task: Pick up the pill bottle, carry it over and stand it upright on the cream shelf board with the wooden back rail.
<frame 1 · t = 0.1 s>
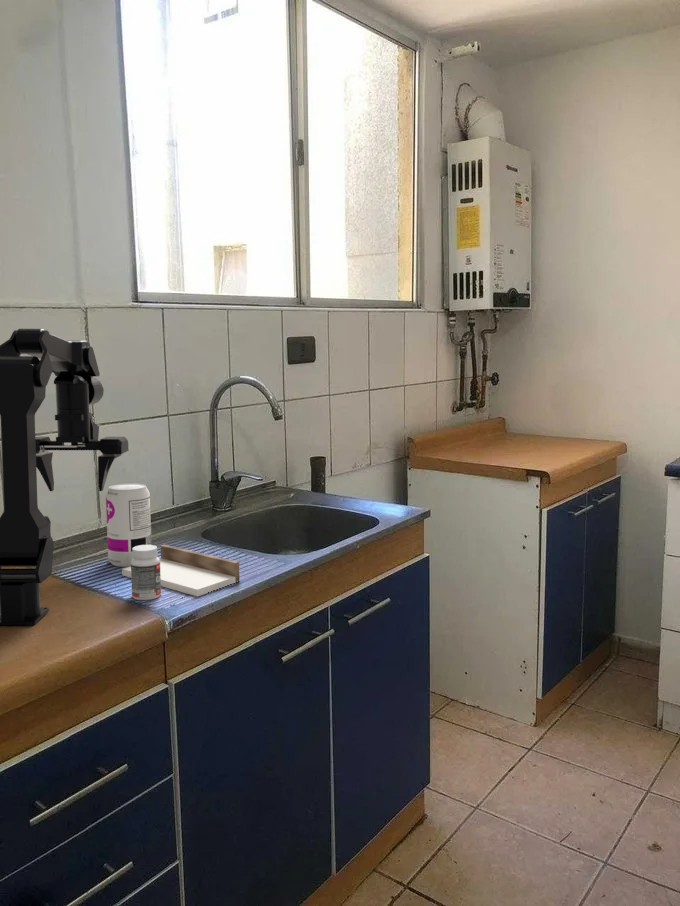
hand: (76, 490, 137), 15 cm above the countertop, fingers open, 9 cm apart
supplement can: (130, 563, 142), on the countertop
shelf board: (180, 578, 132), on the countertop
pill bottle: (146, 597, 122), on the countertop
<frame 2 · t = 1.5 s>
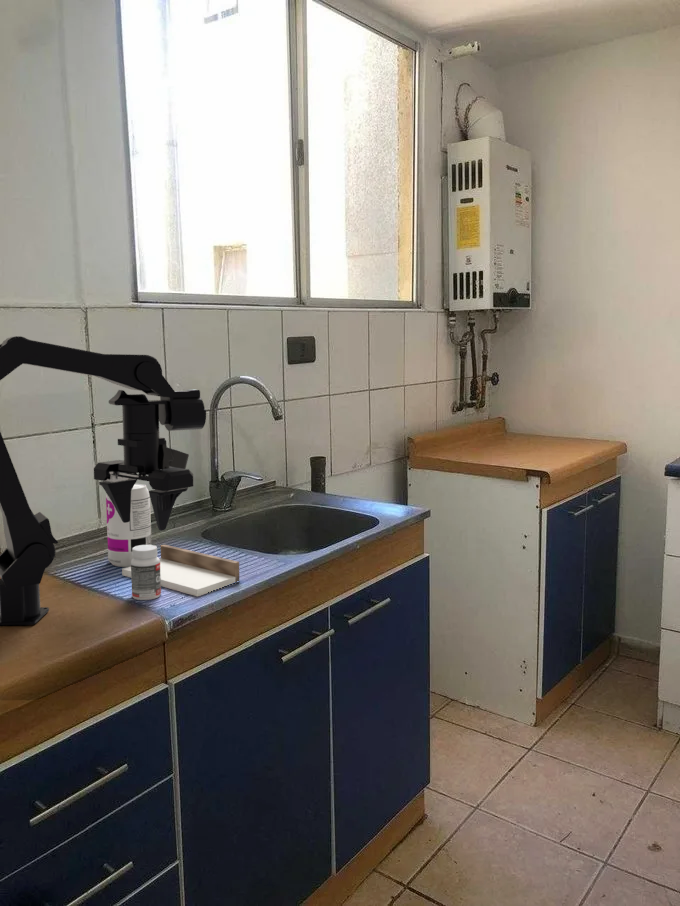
hand: (143, 526, 120), 12 cm above the countertop, fingers open, 9 cm apart
nothing on the countertop moved.
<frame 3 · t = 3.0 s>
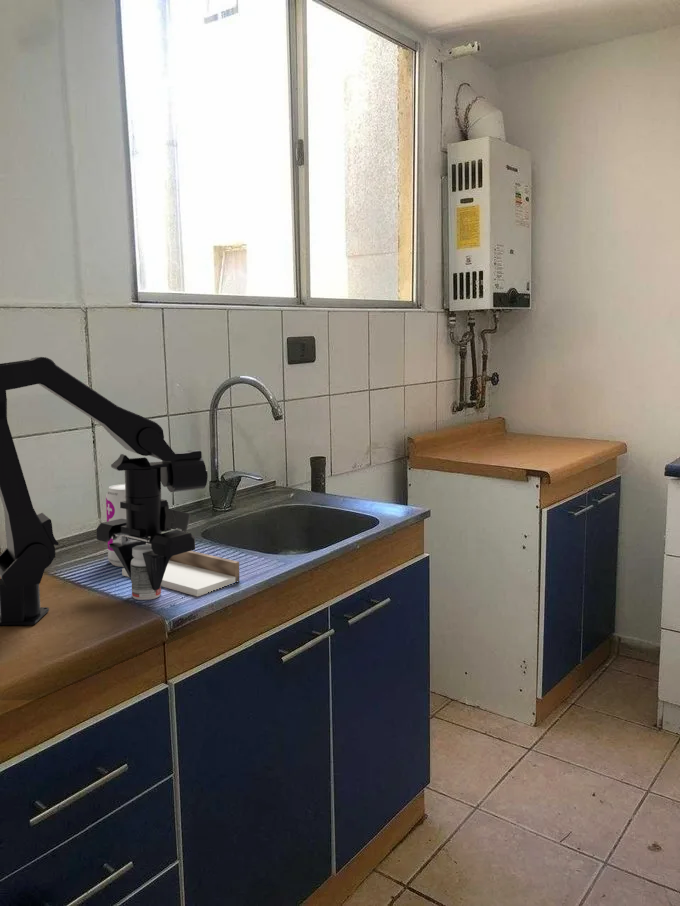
hand: (146, 586, 122), 2 cm above the countertop, fingers closed on pill bottle, 5 cm apart
pill bottle: (146, 597, 122), on the countertop, touching gripper
everything else where it was.
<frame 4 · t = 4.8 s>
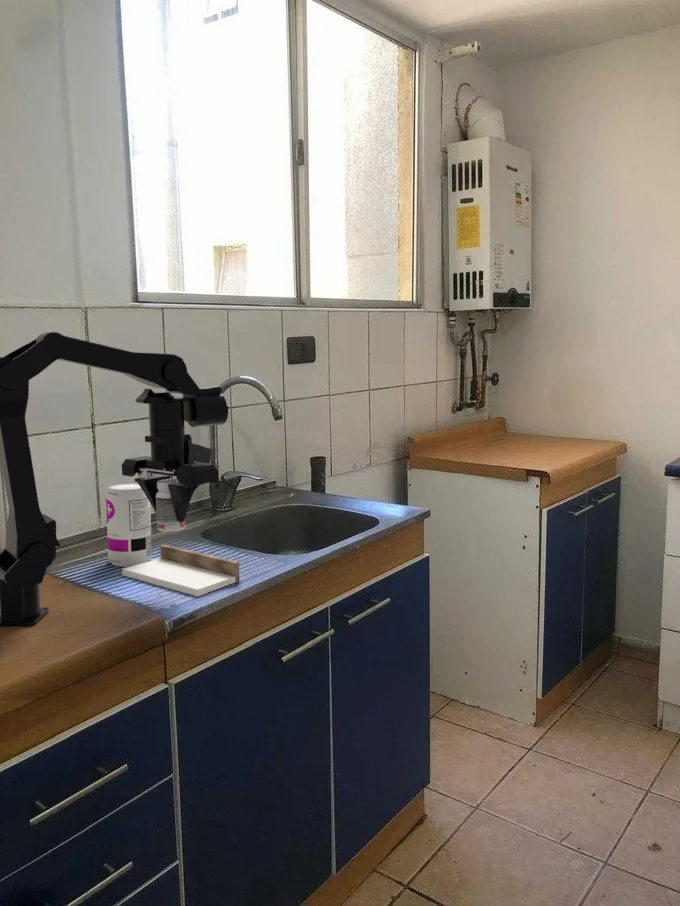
hand: (171, 519, 125), 12 cm above the countertop, fingers closed on pill bottle, 5 cm apart
pill bottle: (171, 530, 125), point 10 cm above the countertop, touching gripper
everything else where it was.
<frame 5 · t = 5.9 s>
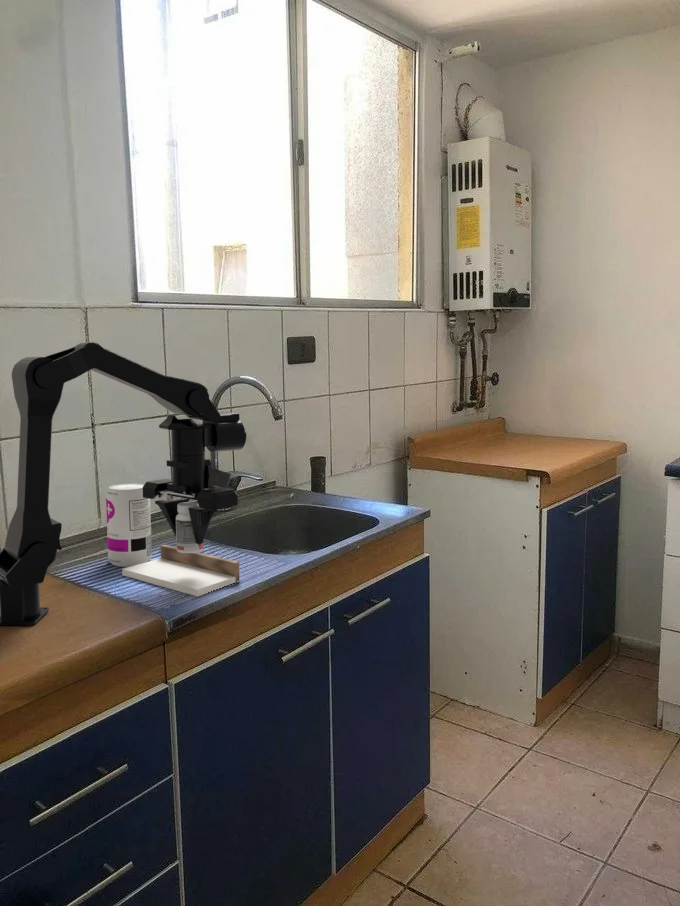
hand: (189, 541, 129), 7 cm above the countertop, fingers closed on pill bottle, 5 cm apart
pill bottle: (190, 551, 129), point 6 cm above the countertop, touching gripper
everything else where it was.
when the fingers open (4 cm above the countertop, at t = 6.8 s): pill bottle drops 1 cm, resting on shelf board.
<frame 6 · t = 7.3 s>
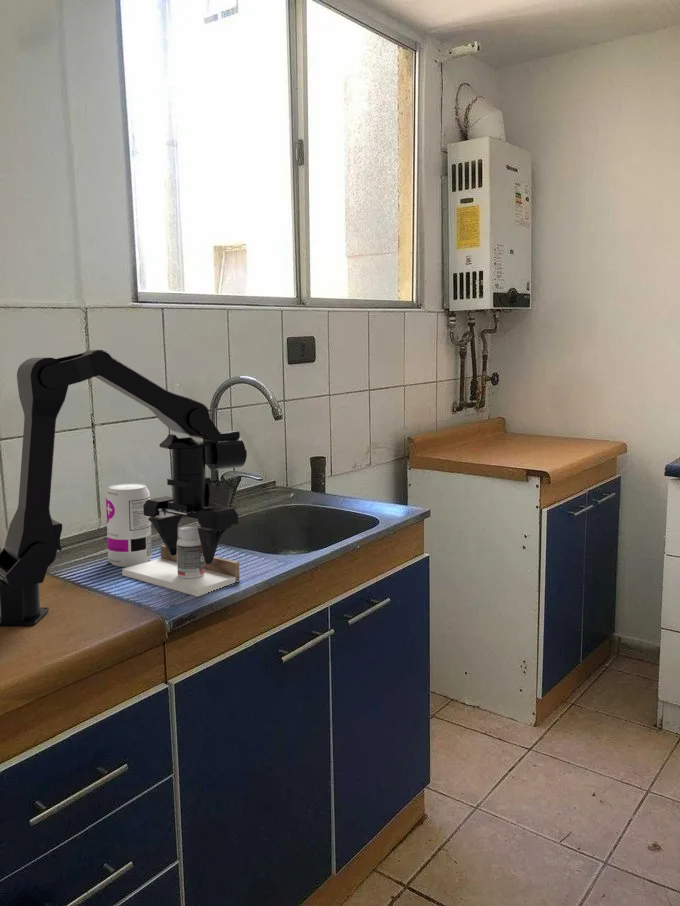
hand: (190, 559, 129), 4 cm above the countertop, fingers open, 9 cm apart
pill bottle: (190, 576, 130), point 1 cm above the countertop, touching shelf board
everything else where it was.
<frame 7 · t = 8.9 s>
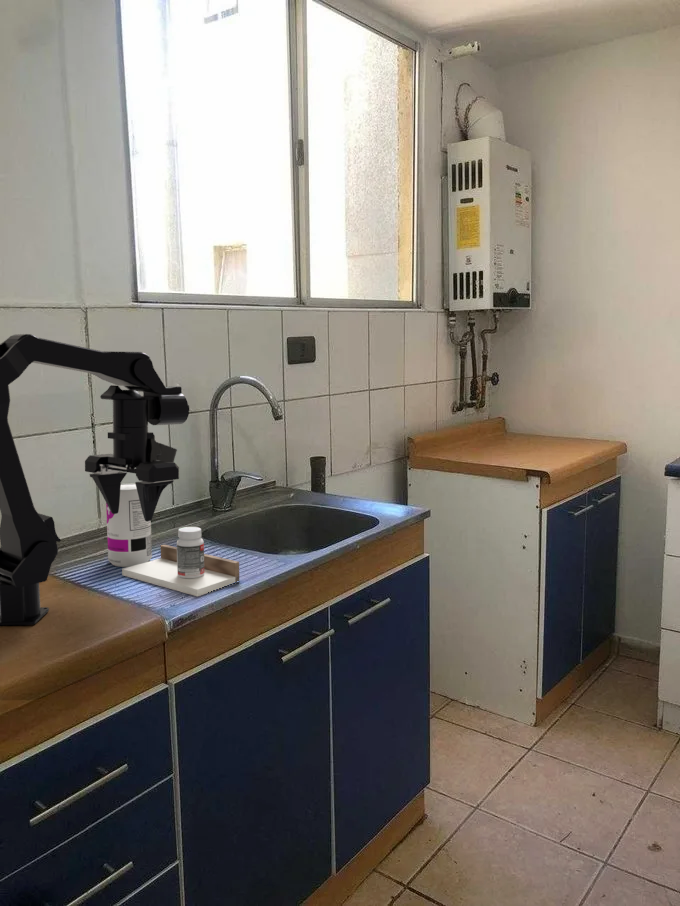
hand: (131, 517, 125), 12 cm above the countertop, fingers open, 9 cm apart
nothing on the countertop moved.
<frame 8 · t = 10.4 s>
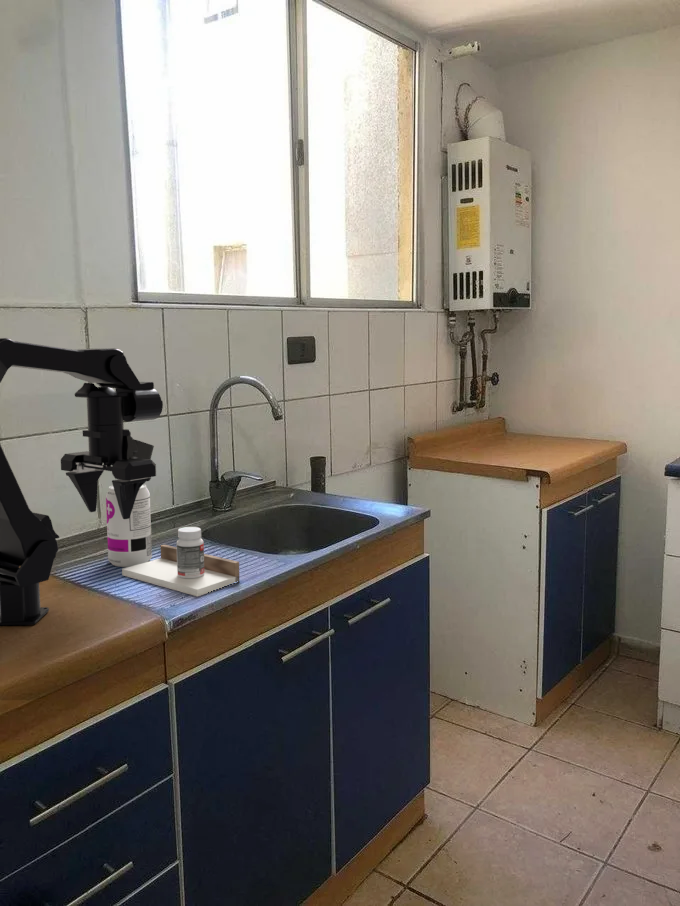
hand: (109, 515, 124), 13 cm above the countertop, fingers open, 9 cm apart
nothing on the countertop moved.
at the end: pill bottle 0.1 cm from the target spot, point 1.0 cm above the countertop; pill bottle tilted 0°; the gripper is holding nothing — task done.
